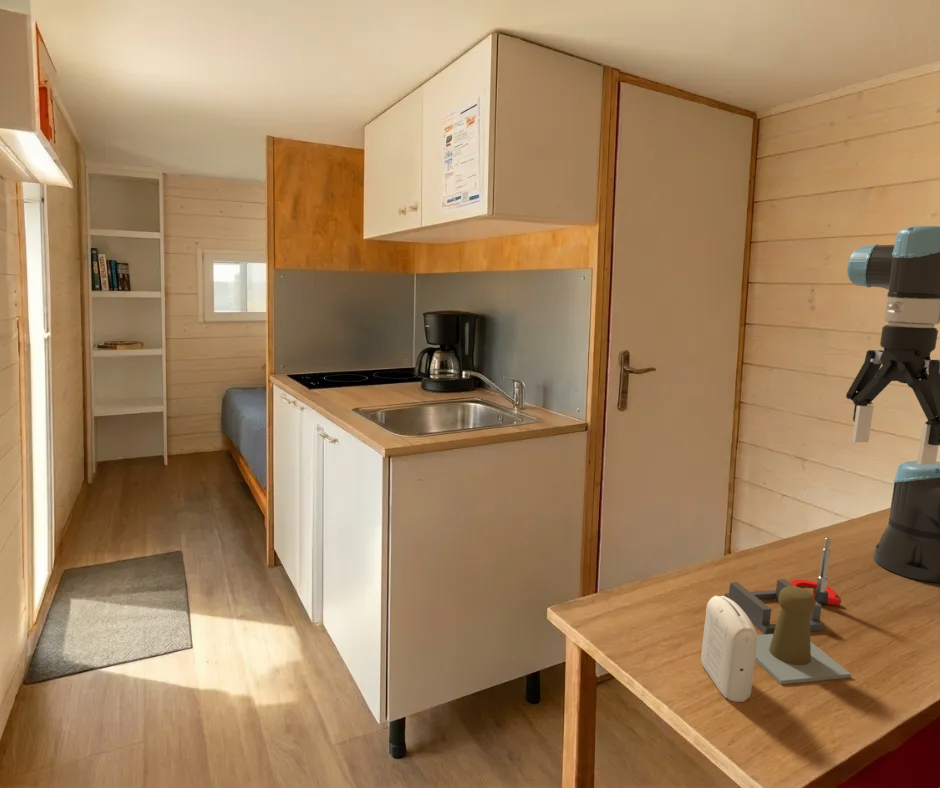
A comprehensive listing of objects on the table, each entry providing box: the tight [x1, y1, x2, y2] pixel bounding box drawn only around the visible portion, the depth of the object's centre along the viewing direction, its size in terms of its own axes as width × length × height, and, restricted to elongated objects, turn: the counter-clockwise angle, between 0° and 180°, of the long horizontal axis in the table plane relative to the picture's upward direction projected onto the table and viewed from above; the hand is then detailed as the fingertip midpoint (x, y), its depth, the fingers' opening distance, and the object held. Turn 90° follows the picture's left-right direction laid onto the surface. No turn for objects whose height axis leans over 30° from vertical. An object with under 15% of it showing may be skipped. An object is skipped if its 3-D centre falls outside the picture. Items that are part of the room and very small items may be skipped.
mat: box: [755, 634, 852, 685], centre depth 104 cm, size 12×12×1 cm
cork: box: [769, 586, 815, 665], centre depth 103 cm, size 6×6×11 cm
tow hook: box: [788, 537, 841, 607], centre depth 125 cm, size 8×13×9 cm
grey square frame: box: [724, 578, 825, 635], centre depth 117 cm, size 11×12×4 cm
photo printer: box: [700, 595, 758, 703], centre depth 97 cm, size 10×4×12 cm, turn 3°
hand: (891, 452), depth 109 cm, fingers open, 13 cm apart
